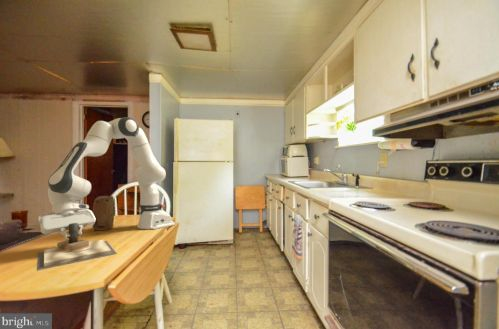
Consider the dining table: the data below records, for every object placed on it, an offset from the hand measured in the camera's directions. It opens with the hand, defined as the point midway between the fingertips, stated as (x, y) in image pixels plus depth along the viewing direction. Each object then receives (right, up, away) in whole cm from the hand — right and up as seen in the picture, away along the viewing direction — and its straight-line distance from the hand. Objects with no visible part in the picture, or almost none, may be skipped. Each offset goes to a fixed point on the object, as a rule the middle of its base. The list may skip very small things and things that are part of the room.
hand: (74, 236), depth 106 cm
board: (+3, -7, -2) cm, 8 cm away
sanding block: (-1, -5, 0) cm, 5 cm away
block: (-11, -8, +39) cm, 41 cm away
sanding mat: (+3, -7, -2) cm, 8 cm away
